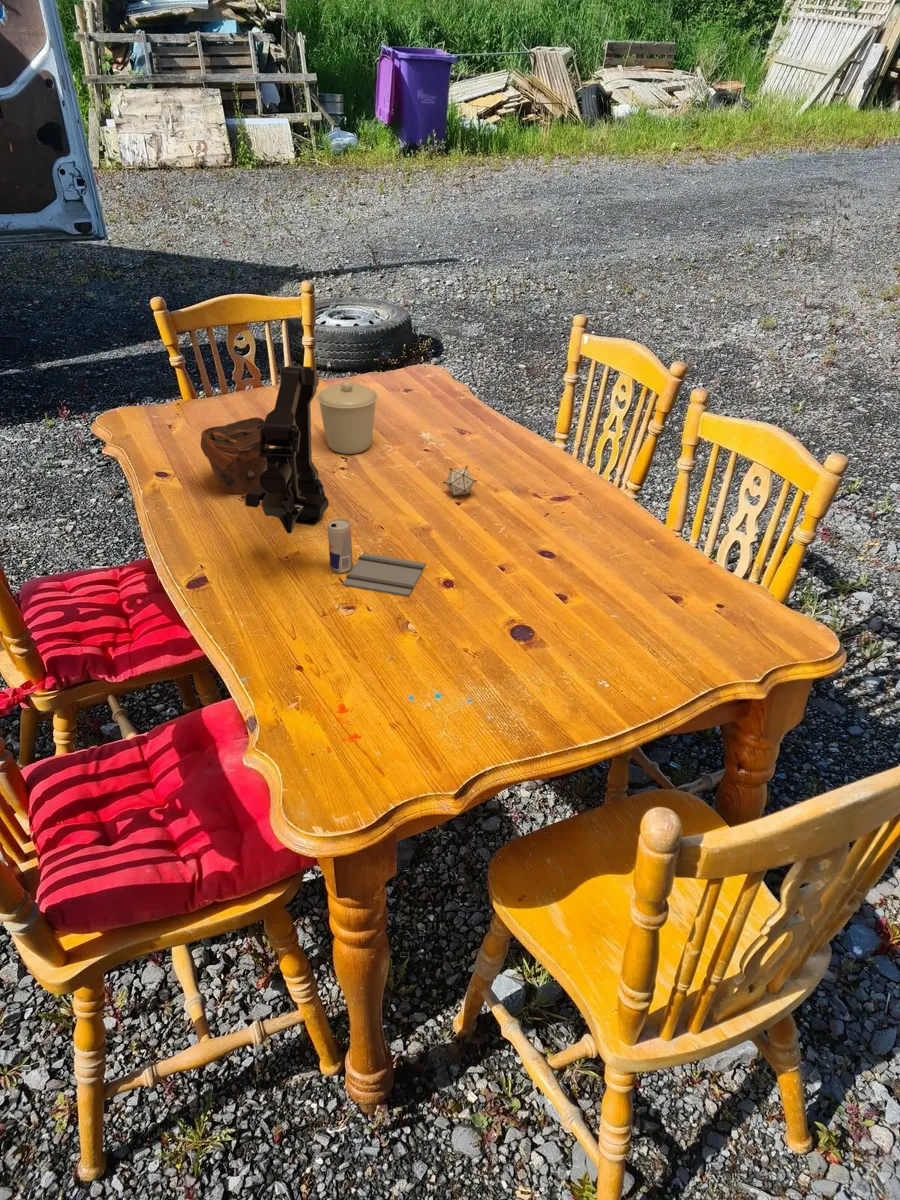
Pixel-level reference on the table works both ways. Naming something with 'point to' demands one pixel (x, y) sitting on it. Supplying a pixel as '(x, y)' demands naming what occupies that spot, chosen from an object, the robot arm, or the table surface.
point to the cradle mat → (384, 574)
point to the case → (235, 454)
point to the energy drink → (340, 545)
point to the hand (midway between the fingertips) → (289, 532)
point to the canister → (348, 416)
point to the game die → (460, 481)
